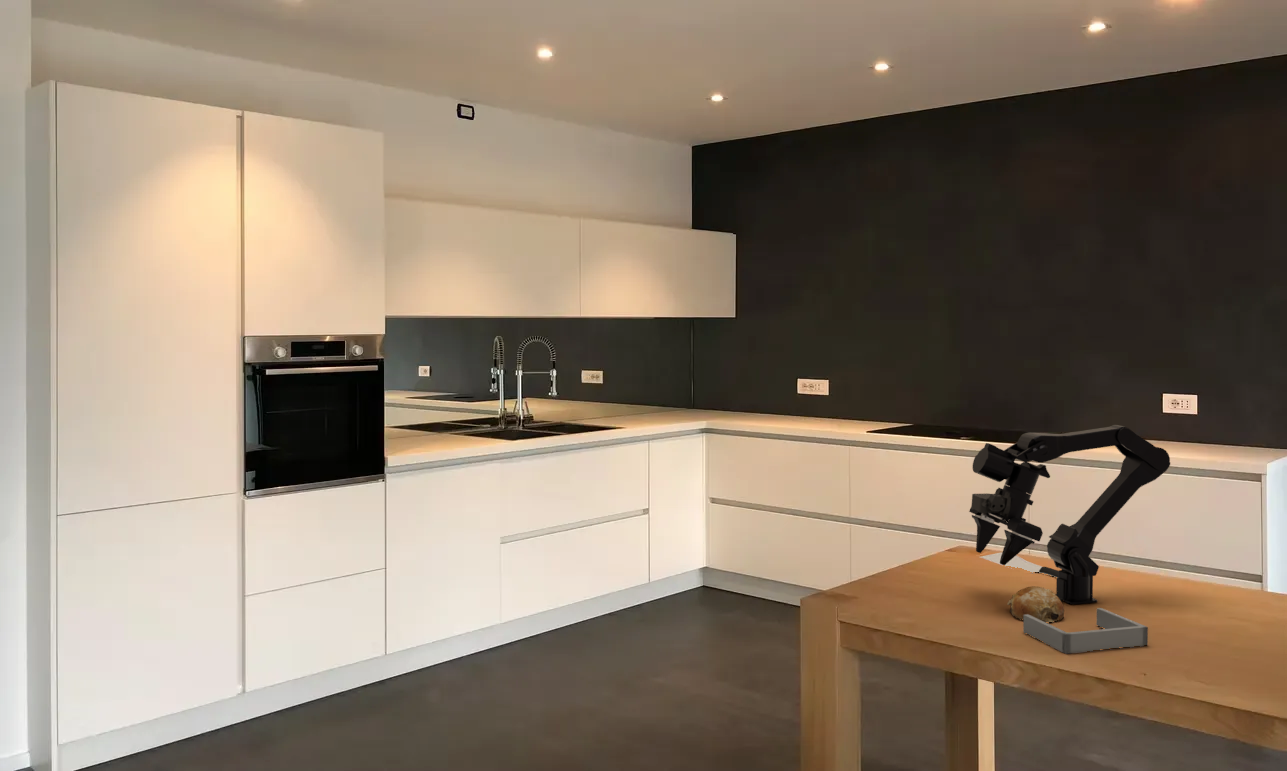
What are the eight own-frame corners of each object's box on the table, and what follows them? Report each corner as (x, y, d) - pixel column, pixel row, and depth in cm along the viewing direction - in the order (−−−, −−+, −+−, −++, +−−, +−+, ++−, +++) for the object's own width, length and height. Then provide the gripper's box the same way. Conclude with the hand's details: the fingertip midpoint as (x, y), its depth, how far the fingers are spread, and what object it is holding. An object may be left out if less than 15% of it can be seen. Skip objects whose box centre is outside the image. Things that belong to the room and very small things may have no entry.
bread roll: (1030, 642, 202) (1044, 610, 198) (994, 609, 210) (1007, 578, 206) (1064, 634, 206) (1079, 603, 203) (1028, 602, 214) (1042, 571, 211)
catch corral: (1100, 625, 200) (1101, 607, 200) (1147, 645, 187) (1147, 627, 187) (1023, 632, 196) (1023, 614, 196) (1065, 653, 183) (1065, 634, 183)
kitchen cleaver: (973, 555, 258) (1007, 547, 261) (973, 561, 258) (1008, 554, 261) (1053, 586, 228) (1091, 577, 231) (1054, 593, 228) (1091, 584, 231)
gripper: (963, 468, 222) (936, 534, 223) (1011, 486, 204) (982, 558, 205) (1005, 485, 225) (978, 550, 226) (1056, 504, 207) (1027, 575, 208)
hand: (989, 558), depth 216 cm, fingers open, 9 cm apart
